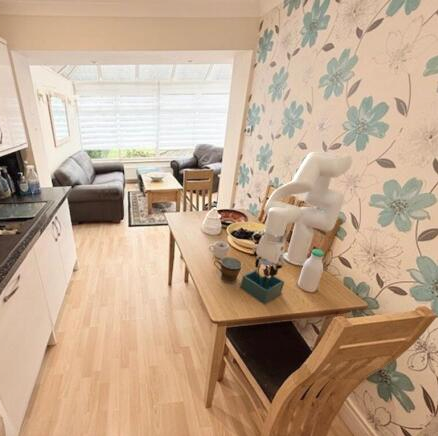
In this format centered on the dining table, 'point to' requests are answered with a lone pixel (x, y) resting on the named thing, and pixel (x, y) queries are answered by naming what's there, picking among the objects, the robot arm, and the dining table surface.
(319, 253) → the milk bottle
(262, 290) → the tub
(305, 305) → the dining table surface
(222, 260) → the ceramic cup
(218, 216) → the honey pot
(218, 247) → the cup
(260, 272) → the beer glass
